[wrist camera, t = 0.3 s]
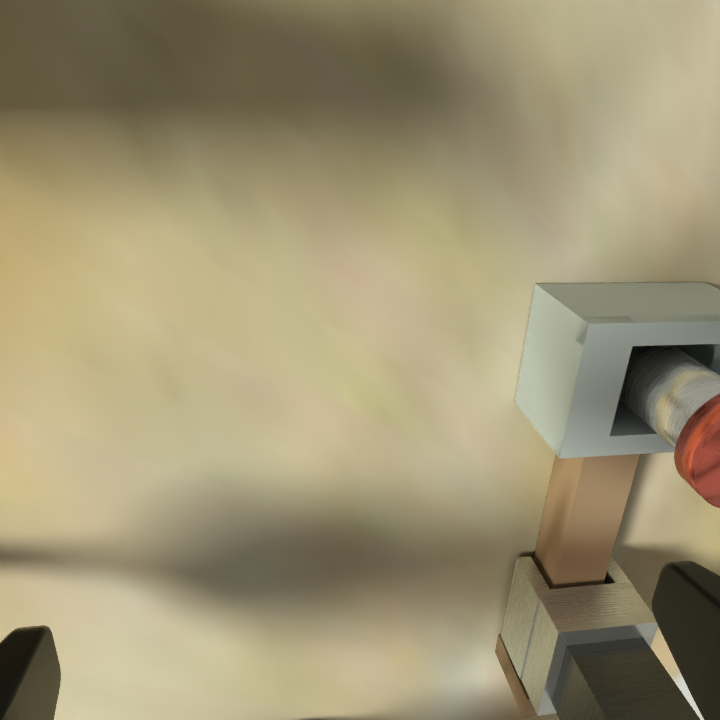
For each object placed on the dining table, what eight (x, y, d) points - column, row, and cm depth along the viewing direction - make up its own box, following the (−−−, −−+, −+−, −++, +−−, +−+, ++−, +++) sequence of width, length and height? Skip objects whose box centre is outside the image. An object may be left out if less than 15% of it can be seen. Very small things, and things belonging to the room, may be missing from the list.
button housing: (671, 395, 26) (738, 448, 22) (514, 402, 25) (559, 458, 21) (704, 282, 24) (784, 320, 20) (535, 283, 23) (588, 323, 19)
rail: (575, 642, 32) (611, 705, 29) (495, 652, 31) (522, 717, 28) (643, 397, 26) (697, 442, 23) (544, 401, 25) (586, 448, 22)
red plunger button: (677, 414, 23) (791, 505, 18) (589, 418, 22) (681, 514, 18) (704, 324, 21) (836, 398, 17) (610, 326, 21) (718, 404, 16)
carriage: (585, 626, 31) (689, 799, 24) (500, 635, 30) (581, 817, 23) (606, 549, 29) (728, 713, 21) (516, 557, 28) (610, 729, 21)
